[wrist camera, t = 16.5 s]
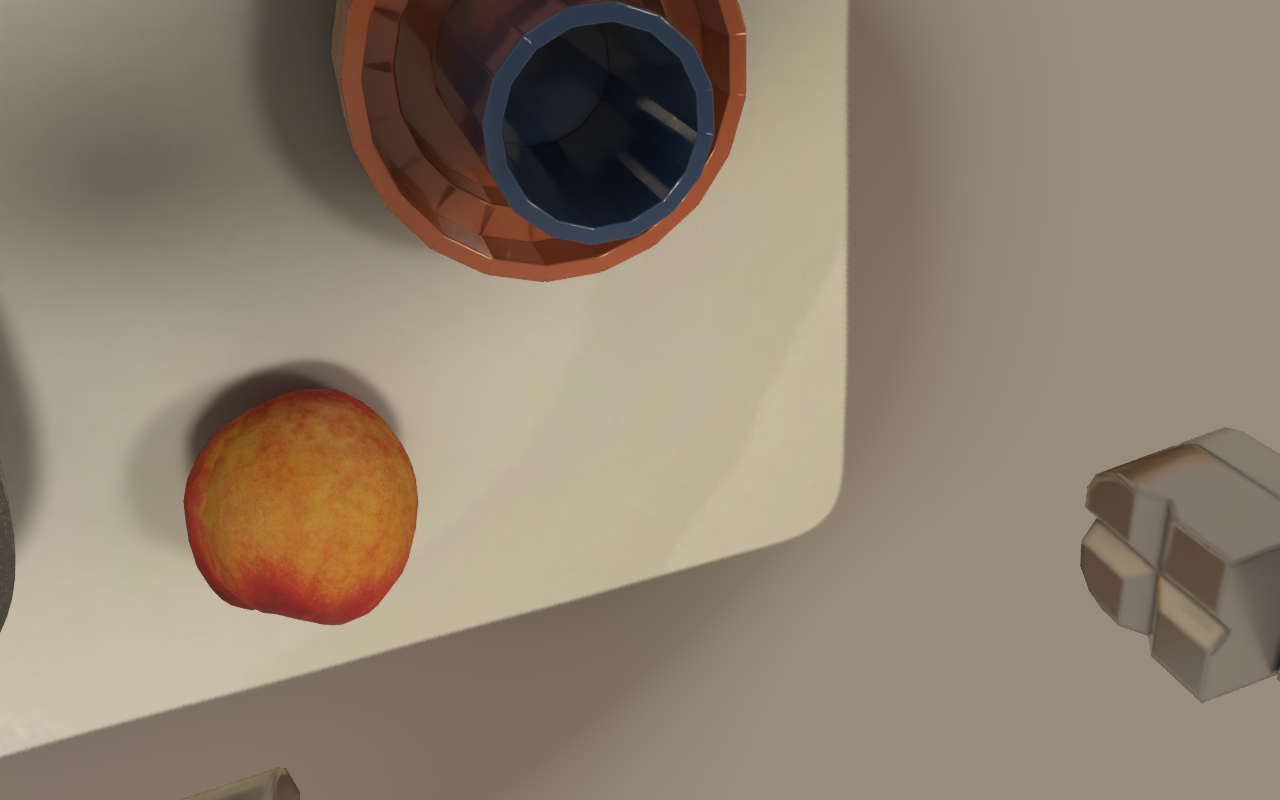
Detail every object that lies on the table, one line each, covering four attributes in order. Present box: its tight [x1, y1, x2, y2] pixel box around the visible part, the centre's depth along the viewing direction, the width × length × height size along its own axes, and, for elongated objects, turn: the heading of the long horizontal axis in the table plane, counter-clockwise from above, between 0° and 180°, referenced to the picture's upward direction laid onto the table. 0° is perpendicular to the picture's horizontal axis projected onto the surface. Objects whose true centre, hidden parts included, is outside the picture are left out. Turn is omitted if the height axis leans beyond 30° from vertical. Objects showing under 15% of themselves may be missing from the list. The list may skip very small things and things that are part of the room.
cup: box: [434, 0, 715, 245], centre depth 30 cm, size 6×6×9 cm
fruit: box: [184, 389, 418, 625], centre depth 35 cm, size 8×8×8 cm
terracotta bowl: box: [331, 0, 746, 282], centre depth 32 cm, size 12×12×5 cm
